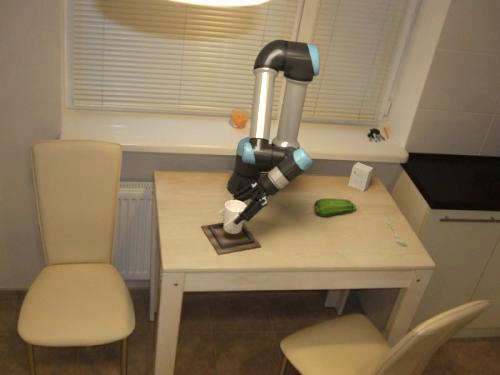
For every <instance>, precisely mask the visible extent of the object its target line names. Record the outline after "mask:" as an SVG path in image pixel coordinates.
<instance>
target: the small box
mask: <svg viewBox="0 0 500 375" xmlns="http://www.w3.org/2000/svg"><path fill="white" fill-rule="evenodd" d="M373 171H374V167H371V166H369V165H366V164H364V163H361V162H359V161H357V162H356V163H355V164H354V165H353V166H352V169H351V172H350V176H349V180H348V185H347V186H348V187H351V188H354V189H356V190H358V191H361V192H363V193H364V192H365V191H366V190H367V189H368V188H369V185H370V182H371V178H372V174H373Z"/></svg>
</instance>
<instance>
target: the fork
mask: <svg viewBox="0 0 500 375" xmlns="http://www.w3.org/2000/svg"><path fill="white" fill-rule="evenodd" d="M386 217H387V216H386V215H383V219H384V221H385V222H386V223H387V225H388V226H389V227H390V228H391V229H392V231H393V232H394V236H393V237H395V236H396V238H397V236H398V238H397V239H395V241H396V242H397V243H399V245H401V246H402V245H406V246H408V245H407V243H406V242H404V240H403V239H402V240H400V239H399V237H400V236H399V234H398V233H397V231H396V229H395V228H394V227H393V225H392V224H391V222H390V221H389V219H387V218H388V217H387V218H386Z"/></svg>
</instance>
